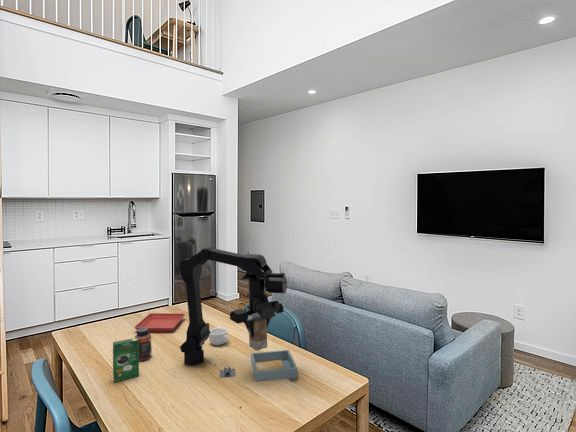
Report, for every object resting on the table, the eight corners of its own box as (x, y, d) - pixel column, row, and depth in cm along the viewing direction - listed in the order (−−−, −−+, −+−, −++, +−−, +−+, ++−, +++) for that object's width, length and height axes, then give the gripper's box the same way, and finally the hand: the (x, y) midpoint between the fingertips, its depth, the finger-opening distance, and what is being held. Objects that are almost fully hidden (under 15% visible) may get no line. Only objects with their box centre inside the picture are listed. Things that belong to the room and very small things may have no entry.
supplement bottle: (155, 356, 139) (154, 327, 138) (143, 363, 134) (142, 333, 133) (143, 353, 142) (143, 325, 141) (131, 359, 136) (130, 330, 135)
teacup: (205, 344, 150) (204, 331, 150) (218, 338, 157) (218, 325, 156) (221, 350, 144) (221, 337, 144) (235, 343, 151) (235, 331, 150)
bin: (255, 384, 119) (255, 372, 119) (250, 363, 133) (250, 353, 133) (297, 379, 122) (297, 368, 122) (288, 359, 136) (288, 349, 136)
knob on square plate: (219, 380, 121) (219, 371, 121) (219, 372, 127) (219, 363, 126) (235, 379, 122) (235, 369, 122) (234, 371, 128) (234, 362, 127)
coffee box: (138, 372, 127) (137, 336, 126) (140, 376, 124) (138, 339, 124) (113, 379, 122) (111, 341, 122) (114, 382, 120) (113, 344, 119)
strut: (256, 350, 122) (255, 322, 122) (249, 346, 126) (248, 318, 125) (267, 347, 125) (266, 319, 124) (260, 343, 129) (259, 315, 128)
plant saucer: (173, 334, 161) (173, 327, 161) (133, 334, 162) (133, 327, 161) (185, 319, 179) (185, 313, 179) (149, 319, 180) (149, 313, 179)
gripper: (244, 302, 112) (245, 351, 113) (292, 291, 123) (293, 336, 124) (228, 294, 121) (229, 339, 122) (274, 285, 132) (275, 326, 133)
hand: (258, 335), depth 125 cm, fingers closed on strut, 4 cm apart
